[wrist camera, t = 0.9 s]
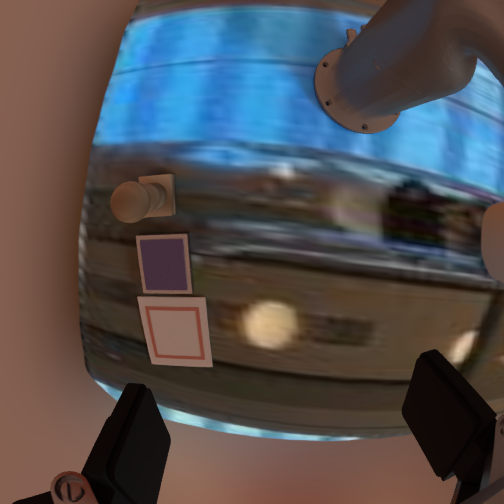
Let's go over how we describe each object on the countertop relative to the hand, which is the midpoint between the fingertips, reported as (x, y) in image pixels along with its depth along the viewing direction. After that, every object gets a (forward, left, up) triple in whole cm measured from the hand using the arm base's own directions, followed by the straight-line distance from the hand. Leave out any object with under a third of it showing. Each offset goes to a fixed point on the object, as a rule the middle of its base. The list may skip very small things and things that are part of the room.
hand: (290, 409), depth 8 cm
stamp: (-6, -13, -29) cm, 32 cm away
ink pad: (+3, -13, -29) cm, 31 cm away
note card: (+14, -13, -29) cm, 34 cm away
